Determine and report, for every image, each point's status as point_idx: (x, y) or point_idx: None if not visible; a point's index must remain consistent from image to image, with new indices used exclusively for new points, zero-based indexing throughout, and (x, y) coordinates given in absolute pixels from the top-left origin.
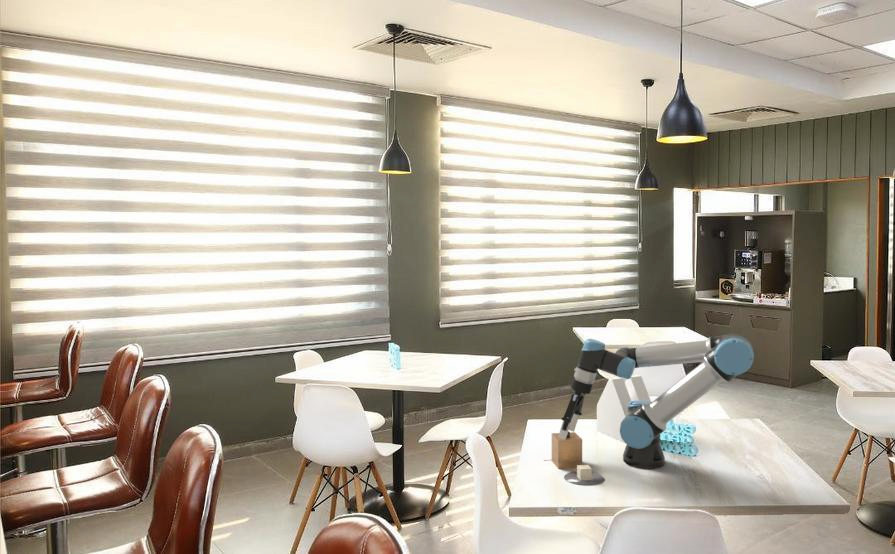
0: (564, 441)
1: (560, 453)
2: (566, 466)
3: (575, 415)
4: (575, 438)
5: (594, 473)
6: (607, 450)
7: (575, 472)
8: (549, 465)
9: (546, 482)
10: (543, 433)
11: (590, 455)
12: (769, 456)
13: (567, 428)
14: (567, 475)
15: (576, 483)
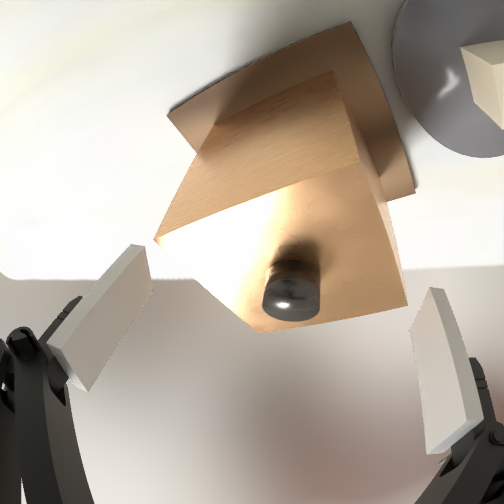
0: (400, 273)
1: (392, 228)
2: (369, 153)
3: (78, 364)
4: (339, 220)
5: (417, 8)
6: (12, 60)
7: (423, 105)
8: None
9: (492, 207)
10: (42, 261)
11: (91, 87)
12: None
13: (464, 371)
14: (464, 143)
15: None
